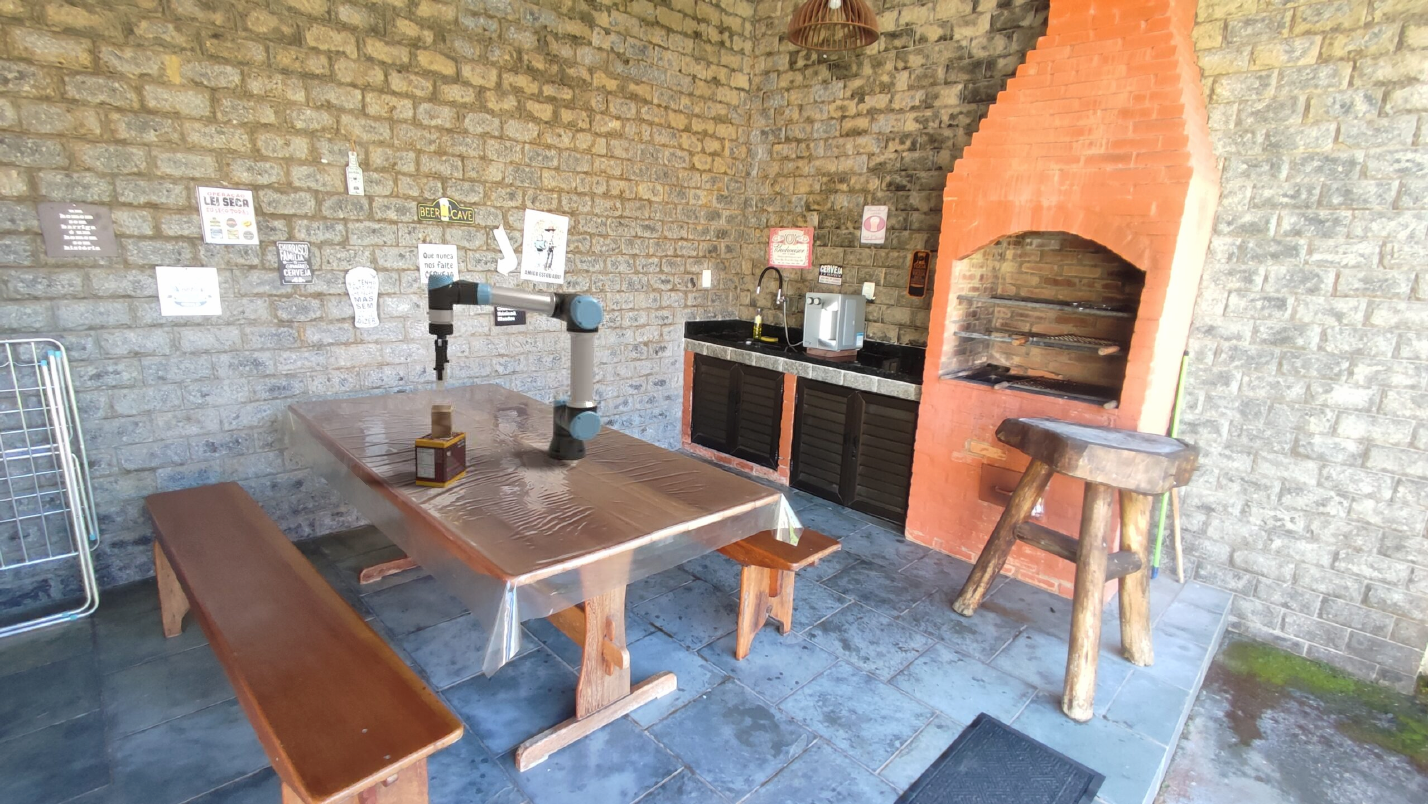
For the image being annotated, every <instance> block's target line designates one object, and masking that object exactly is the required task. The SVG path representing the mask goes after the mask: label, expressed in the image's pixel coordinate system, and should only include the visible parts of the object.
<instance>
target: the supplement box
mask: <svg viewBox="0 0 1428 804" xmlns="http://www.w3.org/2000/svg"><path fill="white" fill-rule="evenodd" d="M466 433H467V432H466V431H465V432H464V431H455V430H452V436H451V438H432V433H431V432H430V433H428V434H426V435H423V436H421V437H419V438H417V439H415V440H414V459H415V460H414V461H415V485H416V486H426V487H434V488H444V489H445V488H446V487H448V486H450V485H451V484H454V483H455V482H456V481H457V480H459V479H462V478H463V477H464V476H466V475H467V468H466V467H467V465H466V464H467V458H466V457H467V455H466V450H467V449H466V448H467V445H466V438H467V437H466V436H467V435H466Z"/></svg>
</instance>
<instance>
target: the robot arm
mask: <svg viewBox="0 0 1428 804" xmlns="http://www.w3.org/2000/svg"><path fill="white" fill-rule="evenodd" d="M427 304H428V311H426V313H425V314H426V315H428V321H429V323H428V333H429V335H431V336H432V335H433V336H436V339H434V341H433V342H434V343H433V344H434V352H435V360H434V361H435V364H434V365H435V366H434V367H432V369H433V371H435V391H445V390H446V383H448V381H449V380H448V364H449V363H450V359H448V347H449V346H448V345H449V340H448V339H447V337H448V336H452V335H454V324H453V322H454V305H455V306H456V305H459V306H460V305H463V306H479V307H481V306H489V307H494V308H501V309H509V310H515V311H522V312H528V313H534V314H535V313H536V314H542V315H545V316H546V317H547V318H549V319H550V318H552V319H556V320H558V321H561V322H562V321H563V322H565V323H566V326H565V327H566V329H565V330H566V333H567V334H568V335H569V337H570V352H569V353H570V354H569V355H570V358H569V360H570V363H569V364H570V367H569V368H570V369H569V371H570V372H569V373H570V376H569V377H570V379H569V381H570V382H569V384H570V385H569V386H570V387H569V392H570V395H569V398H567V397H565V398H564V397H563V398H556V399H555V400H554V401H553V407H552V410H553V411H552V414H553V415H552V437H551V439H550V443H549V445H548V447H547V456H549V457H550V458H552V459H556V460H562V461H563V460H565V461H566V460H567V461H568V460H572V461H573V460H578V459H583V458H585V457H586V456H587V447H586V444H585V443H586V442H585V441H589V440H592V439H593V438H595V437H596V435H598V434H599V433H600V432H601V428H602V420H601V417H600V415H599V414H598V402H596V400H594V373H595V372H594V371H595V370H594V368H595V367H594V365H595V363H594V362H595V361H594V360H595V357H594V356H595V336H597V334H598V333H599V326H600V324H601V323H602V321H603V319H604V309H603V306H602V304H601V303H600V302H599V300H598V299H596V298H594V297H593V296H591V295H587V294H580V293H576V292H574V293H572V292H570V293H569V292H555V291H554V292H553V291H549V292H548V293H543V292H538V291H537V292H536V291H531V290H525V289H518V288H514V287H507V286H501V285H495V284H489V283H487V282H477V281H471V280H466V279H457V280H455V281H454V278H453V276H452V275H450V274H449V275H448V274H436V273H435V274H430V275H429V276H428V278H427Z"/></svg>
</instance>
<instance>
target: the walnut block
mask: <svg viewBox="0 0 1428 804" xmlns="http://www.w3.org/2000/svg"><path fill="white" fill-rule="evenodd" d="M430 419H431V421H430V422H431V432H430V433H432V438H451V436H452V431H453V405H452V404H451V405H450V404H448V405H447V404H433V405H432V406H431V408H430Z"/></svg>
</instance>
